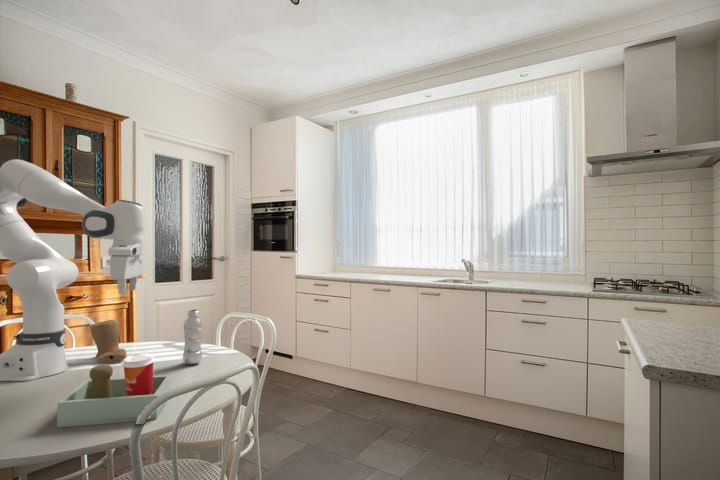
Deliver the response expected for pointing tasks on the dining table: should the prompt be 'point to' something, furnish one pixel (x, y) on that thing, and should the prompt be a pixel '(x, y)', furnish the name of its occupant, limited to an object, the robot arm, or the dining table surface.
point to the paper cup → (138, 374)
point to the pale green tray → (108, 404)
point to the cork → (101, 382)
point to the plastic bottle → (192, 338)
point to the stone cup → (107, 341)
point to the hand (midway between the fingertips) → (127, 291)
